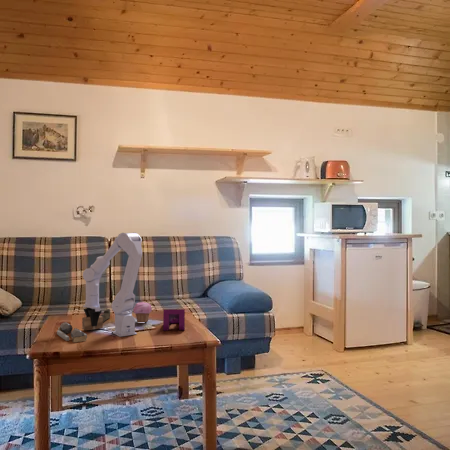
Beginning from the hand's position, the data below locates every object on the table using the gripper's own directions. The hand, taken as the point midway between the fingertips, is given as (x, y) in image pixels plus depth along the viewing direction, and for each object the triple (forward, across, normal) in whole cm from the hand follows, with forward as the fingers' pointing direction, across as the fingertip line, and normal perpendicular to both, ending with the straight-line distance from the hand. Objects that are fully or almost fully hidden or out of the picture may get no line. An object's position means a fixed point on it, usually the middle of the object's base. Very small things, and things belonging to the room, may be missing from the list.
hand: (92, 325), depth 205 cm
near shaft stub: (+2, +14, -11) cm, 18 cm away
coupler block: (+2, 0, 0) cm, 2 cm away
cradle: (+2, +6, -11) cm, 13 cm away
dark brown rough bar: (+3, -16, +11) cm, 20 cm away
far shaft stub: (+2, -2, -11) cm, 11 cm away
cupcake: (+2, -1, +25) cm, 25 cm away
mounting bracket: (+3, +16, +33) cm, 37 cm away
